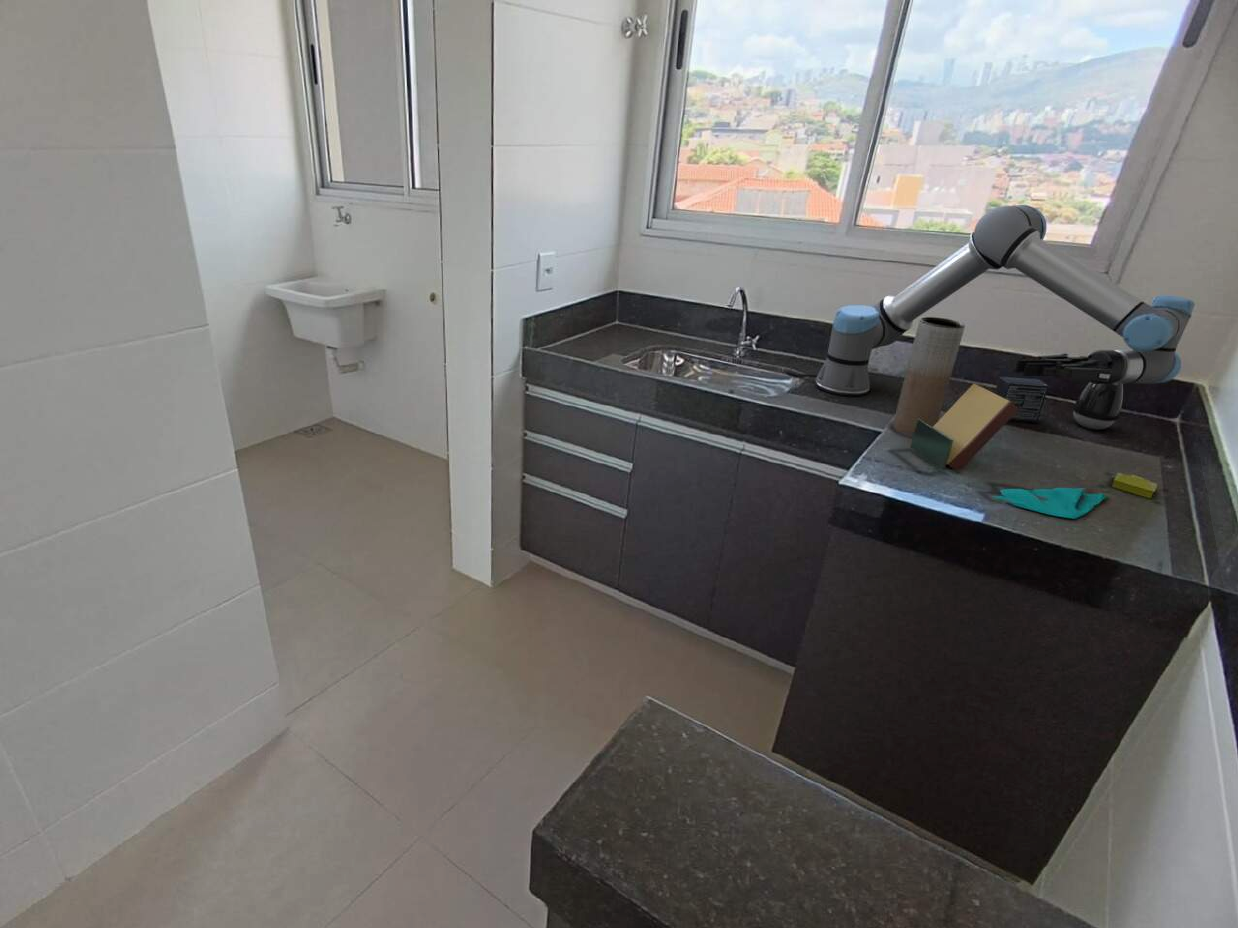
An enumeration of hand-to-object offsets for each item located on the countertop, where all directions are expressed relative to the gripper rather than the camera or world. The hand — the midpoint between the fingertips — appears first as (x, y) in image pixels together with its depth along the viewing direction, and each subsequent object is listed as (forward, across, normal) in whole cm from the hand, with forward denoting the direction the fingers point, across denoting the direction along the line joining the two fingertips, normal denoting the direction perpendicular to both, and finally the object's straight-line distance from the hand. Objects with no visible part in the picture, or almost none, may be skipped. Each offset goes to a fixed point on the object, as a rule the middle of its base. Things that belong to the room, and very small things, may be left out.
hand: (1021, 367), depth 143 cm
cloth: (+3, -21, -22) cm, 31 cm away
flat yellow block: (-22, -17, -22) cm, 36 cm away
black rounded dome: (-44, +17, -22) cm, 52 cm away
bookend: (+20, 0, -22) cm, 29 cm away
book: (+15, 0, -21) cm, 26 cm away
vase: (+9, +17, -22) cm, 30 cm away
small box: (-26, +24, -22) cm, 42 cm away
